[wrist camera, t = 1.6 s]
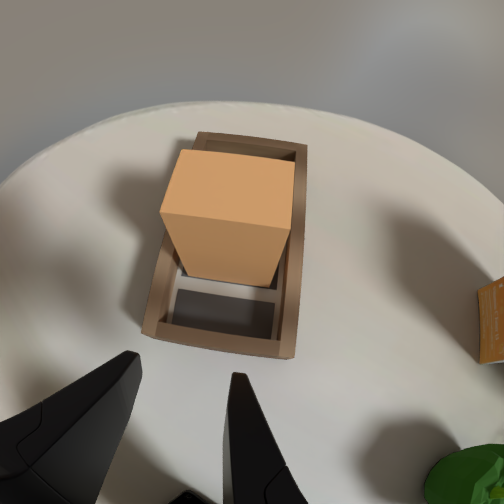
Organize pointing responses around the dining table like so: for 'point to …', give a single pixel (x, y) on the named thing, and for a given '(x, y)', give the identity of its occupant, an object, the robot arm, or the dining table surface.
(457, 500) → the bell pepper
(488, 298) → the small box
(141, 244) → the dining table surface
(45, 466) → the robot arm
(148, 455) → the dining table surface
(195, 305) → the tray
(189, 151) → the block
